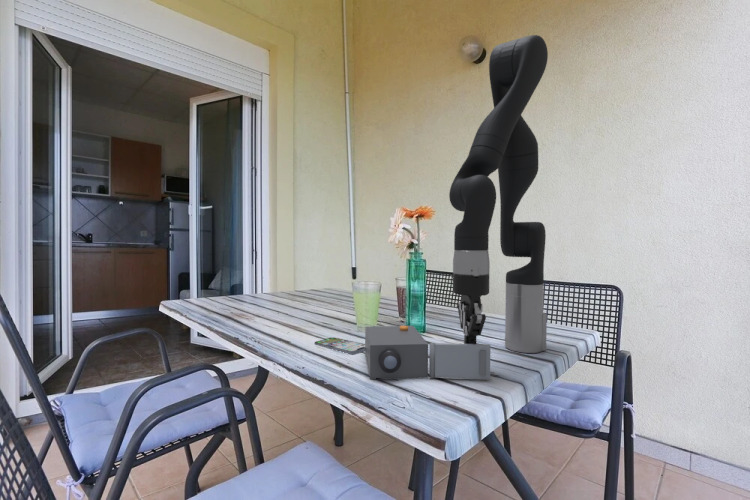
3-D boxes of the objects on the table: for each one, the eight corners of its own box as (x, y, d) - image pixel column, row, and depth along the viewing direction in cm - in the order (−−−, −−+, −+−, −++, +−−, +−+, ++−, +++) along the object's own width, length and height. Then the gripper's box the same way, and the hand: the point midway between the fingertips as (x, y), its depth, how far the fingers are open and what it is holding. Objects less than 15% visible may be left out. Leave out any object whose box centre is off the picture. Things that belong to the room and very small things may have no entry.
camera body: (413, 353, 90) (414, 322, 90) (430, 379, 73) (430, 341, 73) (365, 354, 89) (365, 323, 89) (370, 381, 72) (370, 343, 72)
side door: (490, 380, 72) (491, 346, 72) (429, 378, 73) (429, 344, 73) (488, 377, 73) (489, 344, 73) (429, 375, 75) (429, 342, 74)
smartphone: (332, 337, 104) (371, 345, 94) (332, 340, 104) (371, 349, 94) (312, 342, 98) (352, 352, 89) (312, 346, 98) (352, 356, 89)
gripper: (446, 269, 83) (445, 343, 83) (461, 274, 70) (460, 363, 70) (478, 269, 83) (478, 343, 84) (500, 274, 70) (499, 362, 70)
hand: (470, 352), depth 77 cm, fingers closed
